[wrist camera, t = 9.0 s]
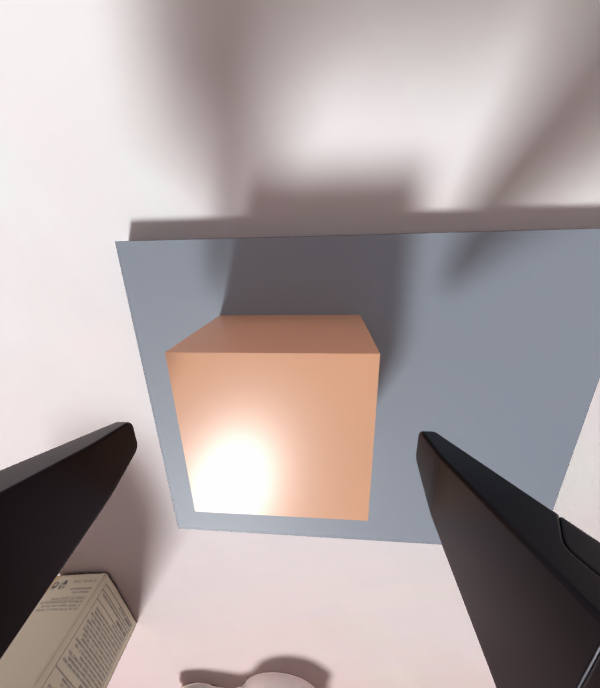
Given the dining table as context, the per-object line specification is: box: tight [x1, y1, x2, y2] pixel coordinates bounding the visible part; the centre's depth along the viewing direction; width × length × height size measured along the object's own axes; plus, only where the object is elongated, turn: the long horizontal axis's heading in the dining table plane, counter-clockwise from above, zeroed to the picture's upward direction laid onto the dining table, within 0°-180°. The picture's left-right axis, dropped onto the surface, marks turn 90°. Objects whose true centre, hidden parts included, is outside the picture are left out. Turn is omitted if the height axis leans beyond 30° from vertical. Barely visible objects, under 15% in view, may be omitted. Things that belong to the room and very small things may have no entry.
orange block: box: [165, 315, 380, 521], centre depth 11 cm, size 6×6×4 cm
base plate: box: [115, 229, 600, 545], centre depth 12 cm, size 20×16×4 cm
